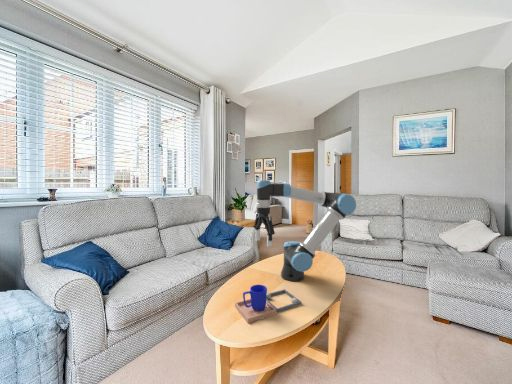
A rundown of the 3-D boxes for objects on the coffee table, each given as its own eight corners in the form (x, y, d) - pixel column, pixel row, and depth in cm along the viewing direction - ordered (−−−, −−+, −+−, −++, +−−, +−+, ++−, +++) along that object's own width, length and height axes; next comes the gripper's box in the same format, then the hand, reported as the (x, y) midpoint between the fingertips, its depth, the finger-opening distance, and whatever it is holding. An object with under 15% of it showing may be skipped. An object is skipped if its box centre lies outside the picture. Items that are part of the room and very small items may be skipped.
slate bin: (284, 291, 131) (284, 289, 131) (301, 304, 118) (301, 301, 118) (261, 298, 124) (261, 295, 124) (276, 312, 111) (276, 309, 111)
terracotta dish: (260, 299, 123) (260, 295, 123) (276, 313, 109) (276, 309, 109) (234, 306, 116) (234, 302, 116) (247, 323, 102) (247, 318, 102)
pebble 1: (268, 296, 125) (268, 291, 125) (271, 299, 123) (271, 293, 123) (264, 298, 124) (264, 292, 124) (267, 300, 121) (267, 295, 121)
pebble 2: (295, 301, 120) (295, 295, 120) (298, 304, 118) (298, 298, 118) (290, 302, 119) (290, 297, 119) (294, 305, 116) (294, 300, 116)
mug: (240, 307, 114) (240, 287, 114) (263, 302, 119) (263, 283, 118) (245, 316, 107) (245, 295, 106) (269, 310, 111) (269, 290, 110)
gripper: (248, 205, 142) (248, 239, 143) (269, 209, 120) (269, 249, 121) (258, 204, 145) (258, 237, 147) (281, 209, 123) (280, 247, 125)
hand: (263, 243), depth 134 cm, fingers open, 13 cm apart
